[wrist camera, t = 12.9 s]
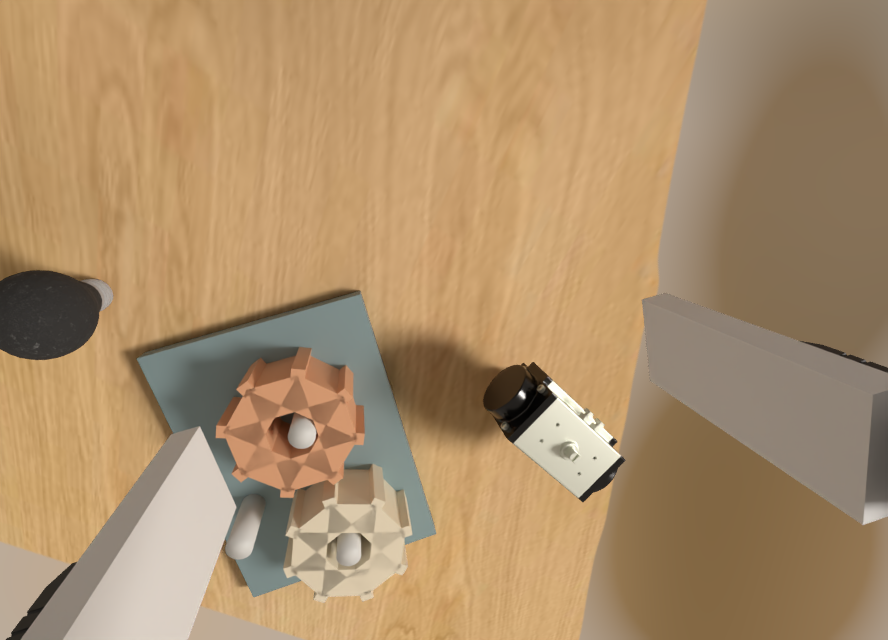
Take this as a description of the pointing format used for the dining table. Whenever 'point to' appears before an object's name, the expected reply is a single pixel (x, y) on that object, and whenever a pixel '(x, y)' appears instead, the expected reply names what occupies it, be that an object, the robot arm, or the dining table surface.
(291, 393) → the loose gear
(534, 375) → the pneumatic valve
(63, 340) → the light bulb
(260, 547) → the gear board
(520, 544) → the dining table surface
